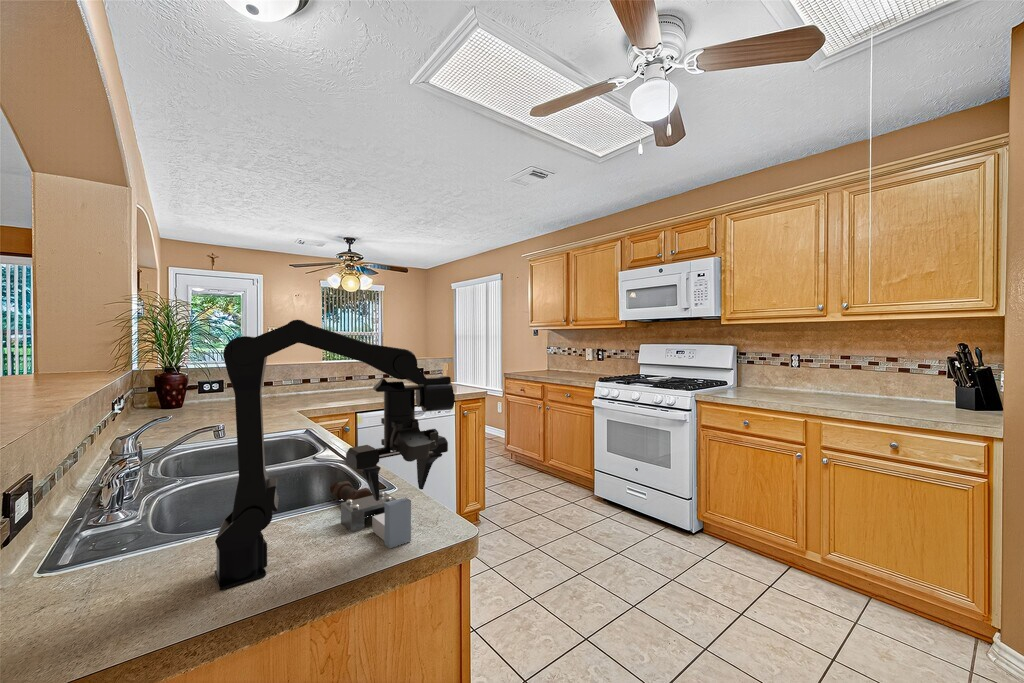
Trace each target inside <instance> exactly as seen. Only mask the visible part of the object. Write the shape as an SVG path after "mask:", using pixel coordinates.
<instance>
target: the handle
mask: <svg viewBox="0 0 1024 683" xmlns="http://www.w3.org/2000/svg"><path fill="white" fill-rule="evenodd" d="M396 499H397V498H396ZM371 517H372V518H371V519H372V530H371V531H372V532H373V533H374V534H375V535H376V536H378V537H379V538H380V539H381V540H382V541H383V542H384V546H386V547H387V548H388V549H392V548H396V547H399V546H401V544H402V545H405V544H408V543H410V542H409V541H411V542H412V500H411V499H410V498H408V497H405V496H404V497H402V498H398V499H397V500H393V501H389V502H385V513H383V514H379V515H374V516H371ZM407 542H408V543H407ZM404 543H405V544H404ZM398 545H399V546H398Z"/></svg>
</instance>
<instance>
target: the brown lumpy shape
mask: <svg viewBox="0 0 1024 683" xmlns="http://www.w3.org/2000/svg"><path fill="white" fill-rule="evenodd" d="M329 491H330V493H331V494H332V495H333V497H334V498H335V500H336V501H337V500H341V499H343V500H345V501H344V502H347V500H348V499H352V500H355V499H360V498H364V497H368V496H372V492H371V490H370V488H369V487H363V488H360V489H356V488H354V486H353V484H352V483H351V482H350V481H349V480H344V481H335V482H332V483H331V486H330V487H329Z"/></svg>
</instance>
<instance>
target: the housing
mask: <svg viewBox="0 0 1024 683" xmlns="http://www.w3.org/2000/svg"><path fill="white" fill-rule="evenodd" d="M393 500H397V498H395V497H394V496H392V495H390V494H389V493H387V492H385V491H379V501H376V500H375V499H374V497H373V495H372V496H368V497H364V498H360V499H355V500H352V499H348V500H347V501H342V502H341V503H340V523H341V525H343V526H344V527H345V528H346V529H347V530H348V531H349V530H350V531H349V532H350V533H353V532H357V531H361V530H363V528H364V529H365V518H364V517H367V516H370V517H372V516H371V515H374V514H376V515H379V514H383V513H385V502H389V501H393ZM374 516H375V515H374ZM367 518H368V517H367ZM360 529H361V530H360ZM356 530H357V531H356Z"/></svg>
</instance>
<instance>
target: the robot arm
mask: <svg viewBox="0 0 1024 683" xmlns="http://www.w3.org/2000/svg"><path fill="white" fill-rule="evenodd" d="M296 344H303V345H306V346H309V347H312V348H316V349H320V350H323V351H325V352H328V353H333V354H336V355H339V356H342V357H346V358H348V359H351V360H355V361H359V362H362V363H364V364H366V365H368V366H370V367H372V368H374V369H375V370H377V371H379V372H381V373H384V374H386V376H387V375H388V376H390V377H392V378H394V379H397V380H398V381H387V380H386V379H385V378H384V377H381V378H380V379H379V381H378V382H377V383H376V384H375V385H374V386H373V387H372V389H373V390H374V391H375V392H377V393H383V418H382V417H381V418H380V419H381V422H380V423H381V424H382V425H383V439H382V438H381V440H380V442H381V445H382V446H383V447H378V448H375V447H373V446H371V445H368V444H365V445H359V446H352V447H349V448H348V449H347V451H346V453H345V464H347V465H349V466H351V467H353V468H354V469H356V470H359V471H361V473H362V475H363V477H364V478H365V480H366V483H367V485H368V488H369V490H370V491H371V493H372V495H373V497H374V499H375V500H376V501H379V492H380V482H379V473H380V472H381V471H380V470H381V469H382V468H381V467H380V466H379V465H378V464H379V463H380V459H386V458H390V457H395V456H399V455H401V456H402V458H403V460H404V461H406V462H414V461H415V460H416V476H417V477H416V478H417V486H418V489H419V490H424V487H425V484H426V482H427V479H428V476H429V473H430V470H431V468H432V466H433V464H434V463H435V461H437V459H438V458H442V456H443V453H447V452H448V451H449V442H448V440H447V437H445V436H442V435H439V431H438V430H437V429H436V428H430V429H426V430H421V429H420V426H419V425H420V422H419V419H417V418H416V414H415V413H416V412H415V411H416V407H418V408H421V410H422V412H423V413H426V412H428V413H429V412H438V411H439V412H440V411H451V410H453V409H454V407H455V402H456V401H455V397H456V396H455V395H456V394H455V393H454V387H453V385H452V383H451V381H452V380H451V377H450V376H448V375H442V376H438V377H426V375H425V374H423V372H422V371H421V369H420V368H419V367H418V359H417V357H416V355H415V354H414V352H412V351H411V350H409V349H405V348H401V347H400V348H398V347H393V346H385V345H379V344H372V343H368V342H365V341H362V340H359V339H356V338H352V337H349V336H346V335H345V334H341V333H338V332H335V331H331V330H328V329H325V328H323V327H319V326H316V325H313V324H310V323H308V322H306V321H304V320H302V319H292V320H291V321H289V322H288V323H286V324H284V325H282V326H279V327H276V328H275V329H273V330H269V331H267V332H265V333H262V334H259V335H258V336H249V335H247V336H246V335H243V336H238V337H235V338H233V339H231V340H230V341H229V342H228V343H227V344H226V345H225V347H224V349H223V354H222V355H223V356H222V357H223V361H224V363H225V368H226V371H227V376H228V379H229V381H230V384H231V387H232V389H233V393H234V402H235V404H234V406H235V423H236V444H237V461H238V462H237V466H238V468H237V470H238V479H237V485H236V491H235V495H234V502H233V506H232V511H230V513H229V514H228V515H226V517H225V518H224V519H223V521H222V523H221V526H220V527H219V531H218V533H217V535H216V538H215V541H214V542H215V545H216V570H214V573H213V574H214V577H215V581H216V583H217V586H218V589H219V590H221V591H222V590H226V589H229V588H231V587H235V586H238V585H241V584H244V583H247V582H251V581H255V580H257V579H261V578H264V577H266V575H267V571H266V569H265V568H267V566H268V543H267V540H266V539H265V538H264V534H263V532H262V531H263V530H265V529H266V528H268V526H269V525H270V524H271V522H272V521H273V520H272V519H273V514H274V512H277V511H278V507H279V506H278V505H279V500H280V499H279V498H280V496H279V495H278V492H277V483H278V476H274V477H270V478H269V475H268V473H267V469H266V458H265V457H266V456H265V438H264V419H263V418H264V415H263V392H262V389H263V383H264V379H265V372H266V367H267V366H266V365H267V360H268V357H269V356H271V355H274V354H276V353H278V352H280V351H283V350H284V349H287V348H290V347H291V346H294V345H296ZM399 380H401V381H399ZM403 380H406V381H408V382H410V383H412V384H415V385H405V383H404V382H403ZM415 404H416V407H415Z"/></svg>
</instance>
